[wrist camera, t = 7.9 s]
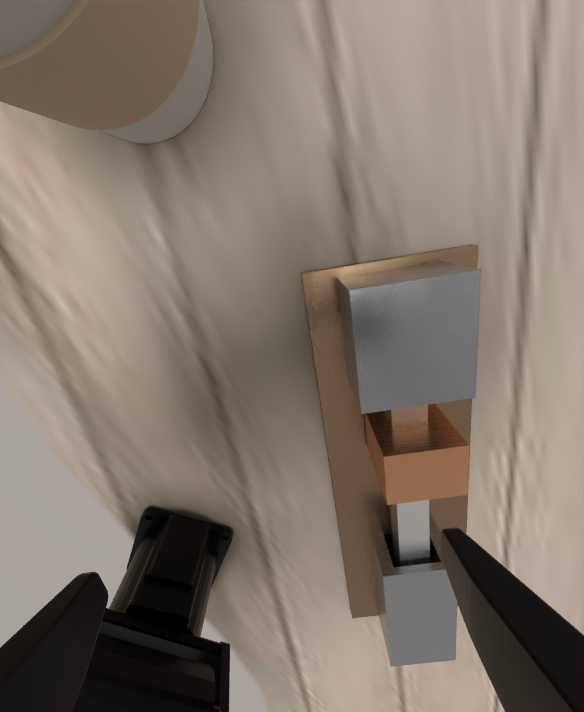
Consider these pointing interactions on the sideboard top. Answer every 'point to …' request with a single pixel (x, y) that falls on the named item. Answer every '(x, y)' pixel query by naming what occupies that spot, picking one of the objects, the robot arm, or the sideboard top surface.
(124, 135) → the coffee cup
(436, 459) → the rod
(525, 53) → the sideboard top surface
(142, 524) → the robot arm
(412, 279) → the tube base
